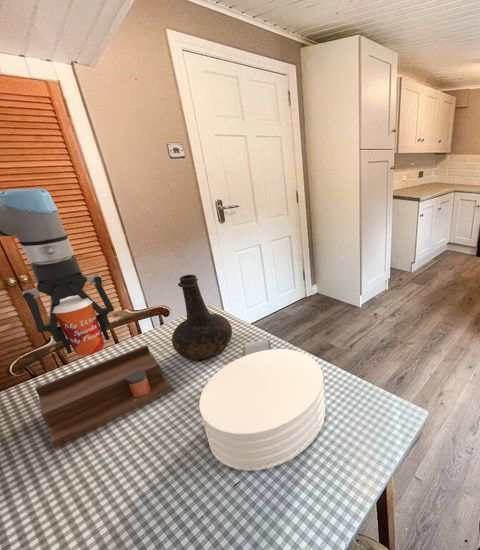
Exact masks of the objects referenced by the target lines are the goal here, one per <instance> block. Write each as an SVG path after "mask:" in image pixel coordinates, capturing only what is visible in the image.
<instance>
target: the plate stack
mask: <svg viewBox="0 0 480 550" xmlns="http://www.w3.org/2000/svg"><path fill="white" fill-rule="evenodd" d="M323 377H324V376H323V371H322V368H321V367H320V364H319V363H318V362H317V361H316V360H315V359H314V358H312V357H311V356H310V355H307V354H306V353H305V352H302V351H298V350H293V349H287V348H286V349H285V348H273V349H272V348H271V350H265V351H260V352H255V353H252V354H249V355H246V356H244V357H243V356H241V357H239V358H237V359H235V360H232V361H231V362H229V363H228V364H227V365H224V366H223V367H222V368H221V369H219V370H218V371H216V372H215V374H214V375H212V377H210V379H209V380H208V382H207V383H206V384H205V386H204V387H203V389H202V391H201V394H200V397H199V400H198V401H199V402H198V405H199V407H198V408H199V413H200V416H201V420H202V423H203V426H204V431H205V434H206V436H207V437H206V438H207V441H208V444H209V449H210V451H211V453H212V454H213V456H214V458H216V459H217V460H218V461H219V462H220V463H222V465H225V466H226V467H229V468H232V469H235V470H240V471H248V472H249V471H261V470H267V469H270V468H274V467H278V466H280V465H282V464H284V463H286V462H288V461H290V460H292V459H294V458H295V457H296V456H298V455H300V454H301V453H302V452H304V450H306V449H307V448H308V447H309V446H310V445H311V444H312V443H313V442H314V440H315V439H316V438H317V436H318V435H319V433H320V431H321V429H322V427H323V425H324V421H325V418H326V417H325V416H326V404H325V392H324V378H323Z"/></svg>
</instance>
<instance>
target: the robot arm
mask: <svg viewBox="0 0 480 550" xmlns="http://www.w3.org/2000/svg"><path fill="white" fill-rule="evenodd" d="M64 227H65V226H64V225H63V222H62V219H61V216H60V213H59V208H58V207H57V206H56V204H55V201H54V200H53V197H52V196H51V193H50V192H49V191H48V190H46V189H44V188H38V187H36V188H35V187H34V188H33V187H32V188H31V187H29V188H15V189H14V188H13V189H4V190H0V237H16V238H17V240H18V242H19V244H20V246H21V249H22V251H23V253H24V256H25V257H26V259H27V261H28V262H29V263H31V264H30V269H31V270H32V272H33V275H34V277H35V279H36V281H37V284H36V287H34V288H30V289H29V290H28V289H25V290H22V293H21V294H22V297H23V299H24V300H25V301H26V302H27V303H28V305H29V307H30V310H31V315H32V317H33V320H34V324H35V328H36V330H37V331H36V332H37V333H40V334H41V333H44V332H48V333H50V334H51V336H52V338H53V340H54V342H55V343H57V344H58V343H63V346H64V348H65V350H66V352H67V354H68V355H69V354H72V353H73V351H72V350H73V349H72V346H71V344H70V342H69V340H68V338H67V337H66V335H65V333H64V331H63V329H62V327H61V326H60V325H58V324H59V322H58V319H57V317H56V315H55V313H52V311H54V310H53V309H54V307H56V306H58V305H59V304H60V299H64V298H67V297H69V296H76V295H78V296H80V297H81V298H82V299H85V298H88V299H90V300H91V301H93V302H92V306H93V309H94V310H95V313H96V317H97V320H98V324H99V327H100V330H101V333H102V336H103V337H104V339H105V341H110V340H111V338H110V336H109V333H108V331H107V328H108V327H110V326H111V323H110V320H109V317H108V314H110V313H112V312H114V311H115V307H114V306H113V304H112V301H111V300H110V298H109V296H108V295H107V292H106V291H105V288H104V287H103V285H102V284H103V283H102V281H103V279H102V277H101V276H100V275H99V274H94V275H86V274H84V273H83V272H82V269H81V267H80V265H79V262H78V260H77V257H76V256H73V255H74V254H75V252H74V249H73V247H72V245H71V242H70V239H69V237H68V234H67V232H66V230H65V228H64ZM87 282H89V283H90V285H93V286H94V288H95V290H96V292H97V293H98V295H99V297H100V299H101V300H102V302H103V304H104V306H105V307H102V306H101V305H99V303H97V302H96V301H95V299H94V300H92V299H93V298H92V297H91V296H90V295H89V294H88V293H87V292H86V291H85V290H84V287H85V285H86V283H87ZM39 293H42V294H45V295H47V296H49V297H50V307H49V318H48V323H47V324H44V320H43V317H42V314H41V313H42V312H41V310H40V306H39V303H38V300H37V299H38V298H39V297H40V295H39ZM90 297H91V298H90Z"/></svg>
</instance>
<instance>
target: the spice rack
mask: <svg viewBox="0 0 480 550" xmlns="http://www.w3.org/2000/svg"><path fill="white" fill-rule="evenodd" d="M160 365H161V364H160V363H159V362H158V361H157V359H156V358H155V357H154V355H153V354H152V353H151V351H150V348H149V345H148V344H146V345H143V346H141V347H137V348H135V349H132V350H130V351H128V352H124V353H122V354H119V355H117V356H114V357H112V358H109V359H106V360H103V361H100V362H98V363H96V364H93V365H90V366H87V367H85V368H83V369H80V370H77V371H75V372H72V373H70V374H67V375H64V376H62V377H59V378H56V379H54V380H51V381H49V382H45V383H43V384H41V385H37V386H35V387H34V389H35V391H36V394H37V395H38V400H39V405H40V412H41V416H42V418H43V420H44V421H45V423H46V425H47V427H48V431H49V437H50V442H51V444H52V446H53V448H54V449H58V448H60V447H62V446H64V445H66V444H68V443H70V442H72V441H75V440H77V439H78V438H80V437H82V436H84V435H86V434H88V433H90V432H92V431H95V430H96V429H98V428H101V427H103V426H105V425H106V424H108V423H110V422H113V421H114V420H117V419H119V418H121V417H123V416H124V415H127V414H129V413H131V412H132V411H135V410H136V409H139V408H141V407H143V406H145V405H147V404H148V403H150V402H152V401H155V400H157V399H159V398H162V397H163V396H165V395H167V394H169V393H171V392H172V391H173V390H172V387H171V384H170V383H169V381H168V380H167V379H166V378H165V377H164V375H163V372H162V369H161V366H160ZM136 371H145V372H146V375H147V379H148V382H149V385H150V388H151V389H150V391H149V392H148V393H147V394H145V395H143V396H140V397H134V396H133V394H132V392H131V389H130V386H129V384H128V382H127V380H126V378H127V377H128V376H129V375H130V374H131V373H133V372H136Z"/></svg>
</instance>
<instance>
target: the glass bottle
mask: <svg viewBox="0 0 480 550" xmlns="http://www.w3.org/2000/svg"><path fill="white" fill-rule="evenodd" d="M198 280H199V279H198V278H197V275H196V274H186V275H182V276H181V277H179V282H178V284H177V286H178V287H180V288H182V289H181V290H182V293H183V300H184V304H185V311H186V319H184V320H183V321H181V323H179V324H178V325H177V326H176V327H175V329H174V331H173V333H172V336H171V344H172V348H173V349H174V351H175V352H176V353H177V354H178V355H180V356H181V357H183V358H186V359H189V360H193V361H200V360H207V359H210V358H213V357H215V356H217V355H219V354H220V353H221V352H222V351H224V350H225V349H226V348H227V347H228V345H229V344H230V342H231V339H232V336H233V328H232V324H231V323H230V321H229V320H228V319H227V318H226V317H224V316H223V315H221V314H218V313H211V312H210V310H209V309H208V308H207V305H206V303H205V301H204V298H203V296H202V293H201V290H200V286H199V284H198Z"/></svg>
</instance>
